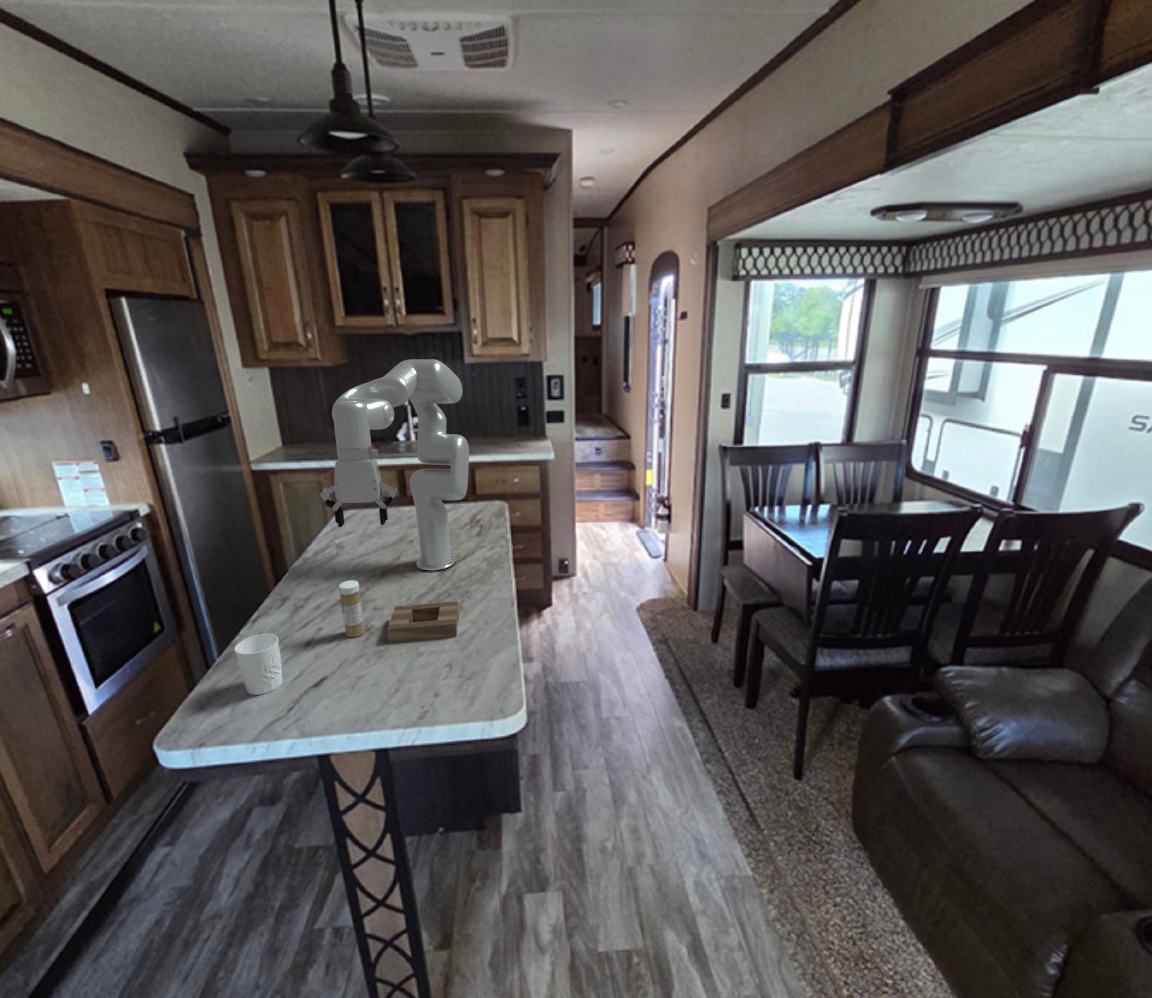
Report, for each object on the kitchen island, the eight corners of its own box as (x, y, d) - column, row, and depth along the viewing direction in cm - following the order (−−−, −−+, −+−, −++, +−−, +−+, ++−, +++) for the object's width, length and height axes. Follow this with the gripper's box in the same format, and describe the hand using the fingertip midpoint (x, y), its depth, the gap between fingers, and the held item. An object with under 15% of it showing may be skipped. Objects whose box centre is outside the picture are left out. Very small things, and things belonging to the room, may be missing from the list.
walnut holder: (396, 618, 141) (395, 606, 140) (459, 613, 144) (458, 601, 143) (388, 642, 130) (387, 629, 129) (456, 636, 132) (455, 623, 131)
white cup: (238, 700, 110) (228, 656, 107) (249, 677, 117) (241, 636, 114) (281, 693, 112) (272, 650, 109) (289, 671, 119) (282, 631, 116)
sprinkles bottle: (348, 629, 136) (341, 580, 132) (367, 628, 137) (360, 579, 133) (343, 638, 132) (335, 588, 128) (362, 637, 132) (355, 587, 129)
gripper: (395, 451, 132) (401, 518, 136) (320, 453, 129) (328, 522, 133) (390, 455, 125) (397, 527, 129) (311, 458, 122) (320, 531, 126)
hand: (362, 524), depth 131 cm, fingers open, 9 cm apart
